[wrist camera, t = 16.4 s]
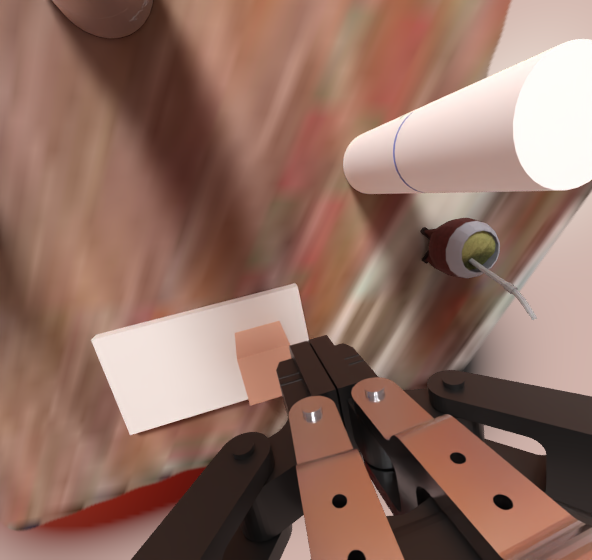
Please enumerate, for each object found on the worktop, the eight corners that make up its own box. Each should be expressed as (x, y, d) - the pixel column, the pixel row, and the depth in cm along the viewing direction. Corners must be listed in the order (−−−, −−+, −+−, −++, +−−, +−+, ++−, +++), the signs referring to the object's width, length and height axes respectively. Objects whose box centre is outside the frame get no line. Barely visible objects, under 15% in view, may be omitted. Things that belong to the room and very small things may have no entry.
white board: (133, 427, 43) (130, 435, 41) (95, 334, 39) (91, 339, 38) (314, 372, 46) (317, 378, 45) (294, 283, 43) (297, 286, 41)
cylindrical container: (331, 167, 40) (486, 124, 17) (369, 118, 40) (585, 3, 16) (372, 206, 42) (562, 218, 19) (409, 160, 42) (651, 113, 18)
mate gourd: (435, 205, 44) (537, 209, 30) (474, 239, 47) (584, 258, 32) (401, 252, 45) (484, 278, 31) (440, 284, 47) (535, 321, 33)
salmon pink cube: (246, 373, 43) (250, 405, 36) (234, 333, 41) (236, 359, 34) (288, 360, 43) (300, 389, 37) (279, 320, 42) (289, 344, 35)
